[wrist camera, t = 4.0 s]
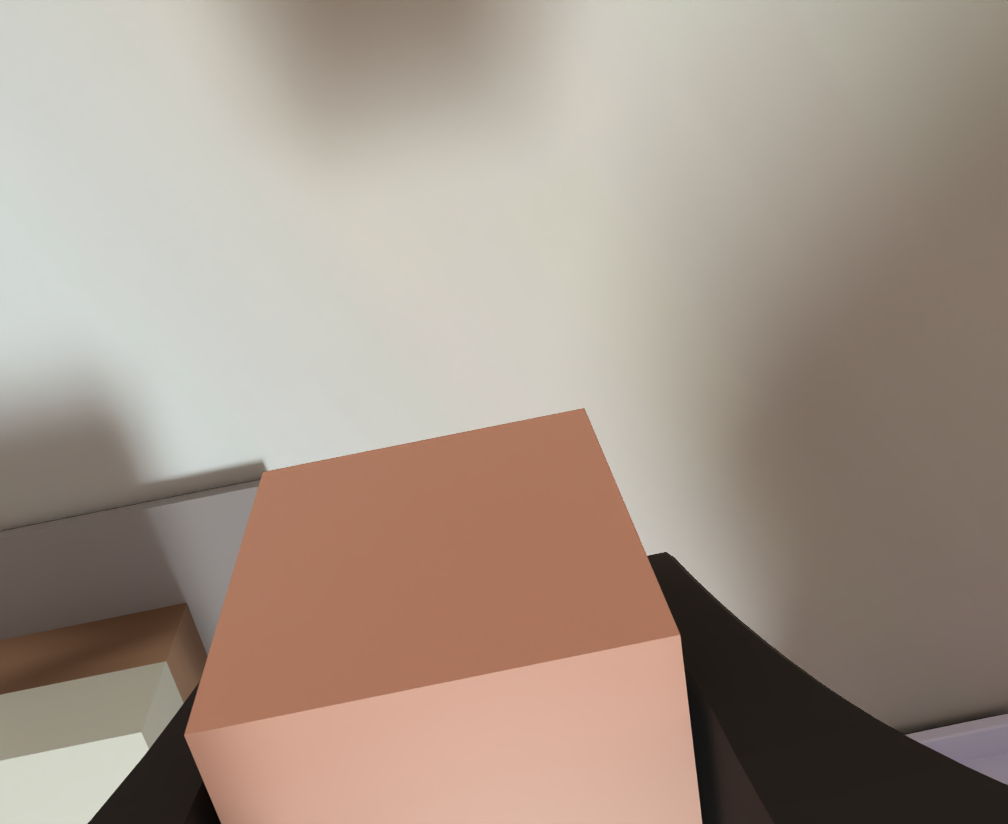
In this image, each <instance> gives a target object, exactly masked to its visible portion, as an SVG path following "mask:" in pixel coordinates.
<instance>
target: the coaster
mask: <svg viewBox="0 0 1008 824" xmlns="http://www.w3.org/2000/svg"><path fill="white" fill-rule="evenodd" d="M259 483H260V480H256V481H251V482H246V483H241V484H236V485H231V486H226V487H221V488H216V489H211V490H206V491H201V492H196V493H191V494H186V495H181V496H176V497H171V498H166V499H161V500H156V501H151V502H146V503H140V504H135V505H130V506H125V507H120V508H115V509H110V510H105V511H100V512H95V513H90V514H85V515H80V516H75V517H70V518H65V519H60V520H55V521H50V522H45V523H40V524H35V525H30V526H25V527H20V528H15V529H10V530H5V531H0V640H3V639H8V638H13V637H18V636H23V635H28V634H33V633H38V632H43V631H48V630H53V629H58V628H63V627H68V626H73V625H78V624H83V623H88V622H93V621H98V620H103V619H108V618H113V617H118V616H123V615H128V614H133V613H138V612H143V611H148V610H153V609H158V608H163V607H168V606H173V605H178V604H183V603H187V605H188V607H189V610H190V612H191V615H192V617H193V620H194V622H195V625H196V628H197V630H198V633H199V635H200V638H201V640H202V643H203V645H204V648H205V651H206V653H207V656H208V654H209V650H210V647H211V644H212V640H213V637H214V634H215V630H216V627H217V624H218V620H219V617H220V613H221V610H222V607H223V603H224V600H225V597H226V593H227V590H228V587H229V583H230V580H231V577H232V573H233V570H234V567H235V563H236V560H237V557H238V553H239V550H240V547H241V543H242V540H243V536H244V533H245V530H246V526H247V523H248V520H249V516H250V513H251V510H252V506H253V503H254V500H255V496H256V493H257V490H258V486H259Z"/></svg>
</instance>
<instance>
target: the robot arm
mask: <svg viewBox="0 0 1008 824" xmlns="http://www.w3.org/2000/svg"><path fill="white" fill-rule="evenodd" d="M647 557H648V560H649V562H650V564H651V567H652V569H653V572H654V574H655V576H656V579H657V581H658V583H659V586H660V588H661V590H662V593H663V595H664V598H665V600H666V602H667V605H668V607H669V609H670V612H671V614H672V616H673V619H674V621H675V623H676V626H677V628H678V631H679V633H680V637H681V645H682V654H683V662H684V671H685V679H686V688H687V696H688V705H689V714H690V722H691V731H692V739H693V748H694V756H695V765H696V773H697V782H698V791H699V799H700V808H701V816H702V824H1008V714H1003V715H998V716H994V717H989V718H984V719H979V720H974V721H969V722H964V723H959V724H955V725H950V726H945V727H940V728H935V729H930V730H925V731H921V732H916V733H911V734H906V735H904V734H902V733H900V732H898V731H897V730H895V729H893V728H891V727H889V726H888V725H886V724H884V723H882V722H881V721H879V720H877V719H876V718H874V717H873V716H871V715H869V714H868V713H866V712H864V711H863V710H861V709H860V708H858V707H856V706H855V705H853V704H852V703H850V702H848V701H847V700H845V699H844V698H842V697H841V696H839V695H838V694H836V693H835V692H833V691H832V690H830V689H829V688H828V687H826V686H825V685H823V684H822V683H820V682H819V681H817V680H816V679H815V678H813V677H812V676H811V675H809V674H808V673H806V672H805V671H804V670H802V669H801V668H800V667H798V666H797V665H795V664H794V663H793V662H791V661H790V660H789V659H787V658H786V657H785V656H784V655H782V654H781V653H780V652H778V651H777V650H776V649H775V648H773V647H772V646H771V645H769V644H768V643H767V642H766V641H765V640H763V639H762V638H761V637H760V636H759V635H757V634H756V633H755V632H754V631H753V630H751V629H750V628H749V627H748V626H747V625H745V624H744V623H743V622H742V621H741V620H739V619H738V618H737V617H736V616H735V615H734V614H733V613H731V612H730V611H729V610H728V609H727V608H726V607H725V606H724V605H722V604H721V603H720V602H719V601H718V600H717V599H716V598H715V597H714V596H713V595H712V594H711V593H709V592H708V591H707V590H706V589H705V588H704V587H703V586H702V585H701V584H700V583H699V582H698V581H697V580H696V579H695V578H694V577H693V576H692V575H691V574H690V573H689V572H688V571H687V570H686V569H685V568H684V567H683V566H682V565H681V564H680V563H679V562H678V561H677V560H676V559H675V558H674V557H673V556H671V555H670V554H668V553H667V552H664V553H659V554H654V555H649V556H647ZM199 684H200V682H199V683H198V684H197V686H196V687H195V688H194V690H193V691H192V693H191V694H190V695H189V697H188V698H187V699H186V701H185V702H184V703H183V705H182V706H181V708H180V709H179V710H178V712H177V713H176V714H175V716H174V717H173V718H172V720H171V721H170V722H169V724H168V725H167V726H166V728H165V729H164V730H163V732H162V733H161V734H160V736H159V737H158V738H157V739H156V741H155V742H154V743H153V745H152V746H151V747H150V749H149V750H148V751H147V753H146V754H145V755H144V756H143V758H142V759H141V760H140V761H139V763H138V764H137V765H136V766H135V767H134V769H133V770H132V771H131V772H130V773H129V775H128V776H127V777H126V778H125V779H124V781H123V782H122V783H121V784H120V785H119V787H118V788H117V789H116V790H115V791H114V793H113V794H112V795H111V796H110V797H109V799H108V800H107V801H106V802H105V803H104V805H103V806H102V807H101V808H100V809H99V811H98V812H97V813H96V814H95V815H94V817H93V818H92V819H91V820H90V821H89V822H88V824H221V822H220V819H219V817H218V815H217V812H216V810H215V808H214V805H213V803H212V800H211V798H210V796H209V793H208V791H207V789H206V786H205V784H204V781H203V779H202V777H201V774H200V772H199V770H198V767H197V765H196V762H195V760H194V758H193V755H192V753H191V751H190V748H189V746H188V743H187V741H186V739H185V736H184V734H185V731H186V727H187V724H188V721H189V717H190V714H191V711H192V707H193V704H194V701H195V697H196V694H197V690H198V687H199Z"/></svg>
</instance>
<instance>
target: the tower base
mask: <svg viewBox="0 0 1008 824" xmlns="http://www.w3.org/2000/svg"><path fill="white" fill-rule="evenodd" d="M207 657H208V656H207V653H206V651H205V648H204V645H203V643H202V640H201V638H200V635H199V633H198V630H197V628H196V625H195V622H194V620H193V617H192V615H191V612H190V610H189V607H188V605H187V603H183V604H178V605H173V606H168V607H163V608H158V609H153V610H148V611H143V612H138V613H133V614H128V615H123V616H118V617H113V618H108V619H103V620H98V621H93V622H88V623H83V624H78V625H73V626H68V627H63V628H58V629H53V630H48V631H43V632H38V633H33V634H28V635H23V636H18V637H13V638H8V639H3V640H0V695H2V694H6V693H11V692H16V691H21V690H26V689H31V688H36V687H41V686H46V685H51V684H56V683H61V682H66V681H71V680H76V679H81V678H86V677H91V676H96V675H101V674H106V673H111V672H115V671H120V670H125V669H130V668H135V667H140V666H145V665H150V664H155V663H160V662H165V661H166V662H167V664H168V667H169V669H170V672H171V674H172V676H173V679H174V681H175V684H176V686H177V688H178V691H179V693H180V696H181V698H182V700H183V703H184V702H185V701H186V699H187V698H188V697H189V695H190V694H191V693H192V691H193V690H194V688H195V687H196V686H197V684H198V683H199V682H200V680H201V677H202V674H203V670H204V667H205V664H206V660H207Z"/></svg>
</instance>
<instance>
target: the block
mask: <svg viewBox="0 0 1008 824" xmlns="http://www.w3.org/2000/svg"><path fill="white" fill-rule="evenodd" d="M184 736H185V739H186V741H187V743H188V746H189V748H190V751H191V753H192V755H193V758H194V760H195V762H196V765H197V767H198V770H199V772H200V774H201V777H202V779H203V781H204V784H205V786H206V789H207V791H208V793H209V796H210V798H211V800H212V803H213V805H214V808H215V810H216V812H217V815H218V817H219V819H220V822H221V824H702V816H701V808H700V799H699V791H698V782H697V773H696V765H695V756H694V748H693V739H692V731H691V722H690V714H689V705H688V696H687V688H686V679H685V671H684V662H683V654H682V645H681V637H680V633H679V631H678V628H677V626H676V623H675V621H674V619H673V616H672V614H671V612H670V609H669V607H668V605H667V602H666V600H665V598H664V595H663V593H662V590H661V588H660V586H659V583H658V581H657V579H656V576H655V574H654V572H653V569H652V567H651V564H650V562H649V560H648V557H647V555H646V553H645V550H644V548H643V546H642V543H641V541H640V538H639V536H638V534H637V531H636V529H635V527H634V524H633V522H632V520H631V517H630V515H629V513H628V510H627V508H626V505H625V503H624V501H623V498H622V496H621V494H620V491H619V489H618V487H617V484H616V482H615V479H614V477H613V475H612V472H611V470H610V468H609V465H608V463H607V461H606V458H605V456H604V454H603V451H602V449H601V446H600V444H599V442H598V439H597V437H596V435H595V432H594V430H593V428H592V425H591V423H590V420H589V418H588V416H587V413H586V411H585V409H584V408H583V409H578V410H573V411H568V412H562V413H557V414H552V415H547V416H542V417H537V418H532V419H527V420H522V421H517V422H512V423H507V424H502V425H497V426H492V427H487V428H482V429H477V430H472V431H467V432H462V433H457V434H452V435H447V436H442V437H437V438H432V439H427V440H422V441H417V442H412V443H407V444H402V445H397V446H392V447H387V448H382V449H377V450H371V451H366V452H361V453H356V454H351V455H346V456H341V457H336V458H331V459H326V460H321V461H316V462H311V463H306V464H301V465H296V466H291V467H286V468H281V469H276V470H271V471H266V472H263V473H262V476H261V480H260V483H259V486H258V490H257V493H256V496H255V500H254V503H253V506H252V510H251V513H250V516H249V520H248V523H247V526H246V530H245V533H244V536H243V540H242V543H241V547H240V550H239V553H238V557H237V560H236V563H235V567H234V570H233V573H232V577H231V580H230V583H229V587H228V590H227V593H226V597H225V600H224V603H223V607H222V610H221V613H220V617H219V620H218V624H217V627H216V630H215V634H214V637H213V640H212V644H211V647H210V650H209V654H208V657H207V660H206V664H205V667H204V670H203V674H202V677H201V680H200V684H199V687H198V690H197V694H196V697H195V701H194V704H193V707H192V711H191V714H190V717H189V721H188V724H187V727H186V731H185V734H184Z"/></svg>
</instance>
